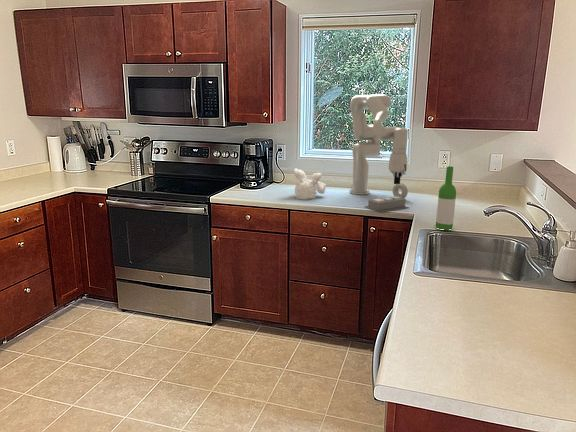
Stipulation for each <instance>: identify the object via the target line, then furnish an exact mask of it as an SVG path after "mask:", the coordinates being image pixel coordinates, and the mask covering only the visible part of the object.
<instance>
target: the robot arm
mask: <svg viewBox="0 0 576 432" xmlns="http://www.w3.org/2000/svg"><path fill="white" fill-rule="evenodd" d="M391 104H392V101H391V98H390V96H388V94H379V93H378V94H377V93H376V94H375V93H374V94H370V95H369V94H358V95H355V96H353V97H352V98H351V100H350V102H349V109H350V113H351V117H352V130H353V138H354V139H355V140H356V141H368V142H356V143H355V144H354V145H353V147H352V160H353V161H352V162H353V165H352V166H353V167H352V183H351V184H350V185H349V186H348V187H349V188H351V189H350V190H349V193H350V194H352V195H369V194H370V190H369V189H368V185H369V182H368V181H369V166H370V165H369V162H368V160H367V159H368V158H377V157H379V156H380V152H381V141H384V142H385V141H392V148H391V151H392V152H391V153H390V156H389V161H388V171H389V173H391V174H392V176H393V178H394V179H393V184H394V185H396V184H400V183H401V178H402V176H404V175H406V172H407V170H408V156H407V155H408V154H407V148H408V147H407V146H408V134H409V133H408V132H409V131H408V129H407V128H405V127H399V126H384V125H383V123H382V122H384V121H385V120H386V119H387V118H388V117H389V115H390V114H389V110H388V109H389V108H390V107H391ZM363 110H369V111H370V112H371V115H372V116H373V118H374V119H373V123H372V124H368V121H367V119H368V118H367V116H366V114H365V112H364V111H363Z"/></svg>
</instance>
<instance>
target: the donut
mask: <svg viewBox="0 0 576 432" xmlns="http://www.w3.org/2000/svg"><path fill="white" fill-rule="evenodd" d="M399 189H400V190H401V193H400V192H399ZM408 193H409V191H408V188H407V186H406V185H405V184H404V183H401V182H400V184H394V185H393V187H392V194H393V196H398V197H401V198H404V199H406V198H407V196H408Z"/></svg>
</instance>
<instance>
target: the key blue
mask: <svg viewBox="0 0 576 432" xmlns="http://www.w3.org/2000/svg"><path fill="white" fill-rule="evenodd" d="M388 197H389V196H387V197H381V199H382V200H385V201H392V200H393V199H392V198H388Z"/></svg>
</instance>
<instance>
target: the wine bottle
mask: <svg viewBox="0 0 576 432" xmlns="http://www.w3.org/2000/svg"><path fill="white" fill-rule="evenodd" d="M445 171H446V173H445V179H444V180H445V181H444V184H442V185H441V186H440V188H439V190H438V199H437V205H436V206H437V208H436V217H435V229H436V228H439V229H444V230H449V229H453V227H454V225H453V224H454V217H455V207H456V198H457V197H456V196H457V188H456V187H455V186H454V184H453V177H454V176H453V175H454V166H452V165H451V166H450V165H449V166H446V170H445Z"/></svg>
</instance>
